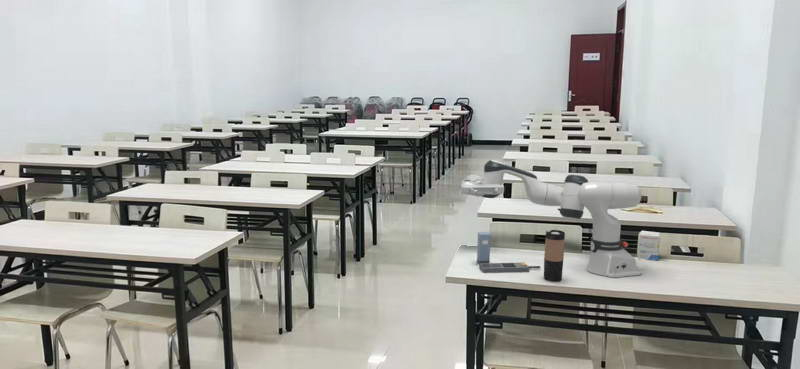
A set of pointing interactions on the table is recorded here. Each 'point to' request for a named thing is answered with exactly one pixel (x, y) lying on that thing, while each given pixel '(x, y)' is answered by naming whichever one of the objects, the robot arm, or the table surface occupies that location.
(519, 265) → the power strip
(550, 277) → the travel mug
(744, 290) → the table surface
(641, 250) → the ink box
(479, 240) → the blue rectangular block
